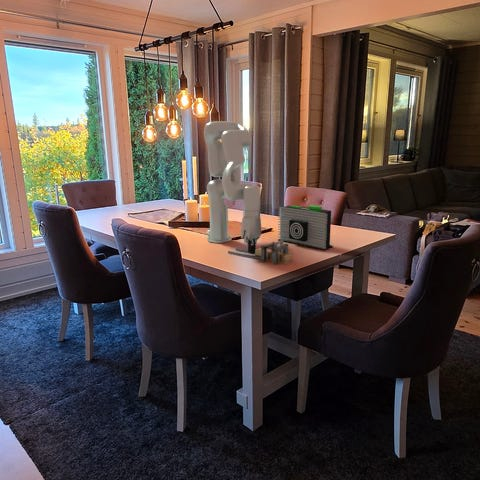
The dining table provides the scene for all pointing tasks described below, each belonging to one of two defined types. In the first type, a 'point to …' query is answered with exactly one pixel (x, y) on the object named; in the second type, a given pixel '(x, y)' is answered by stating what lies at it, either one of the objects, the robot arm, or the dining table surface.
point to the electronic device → (305, 226)
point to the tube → (282, 256)
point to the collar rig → (275, 250)
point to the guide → (244, 254)
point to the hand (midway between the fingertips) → (251, 253)
